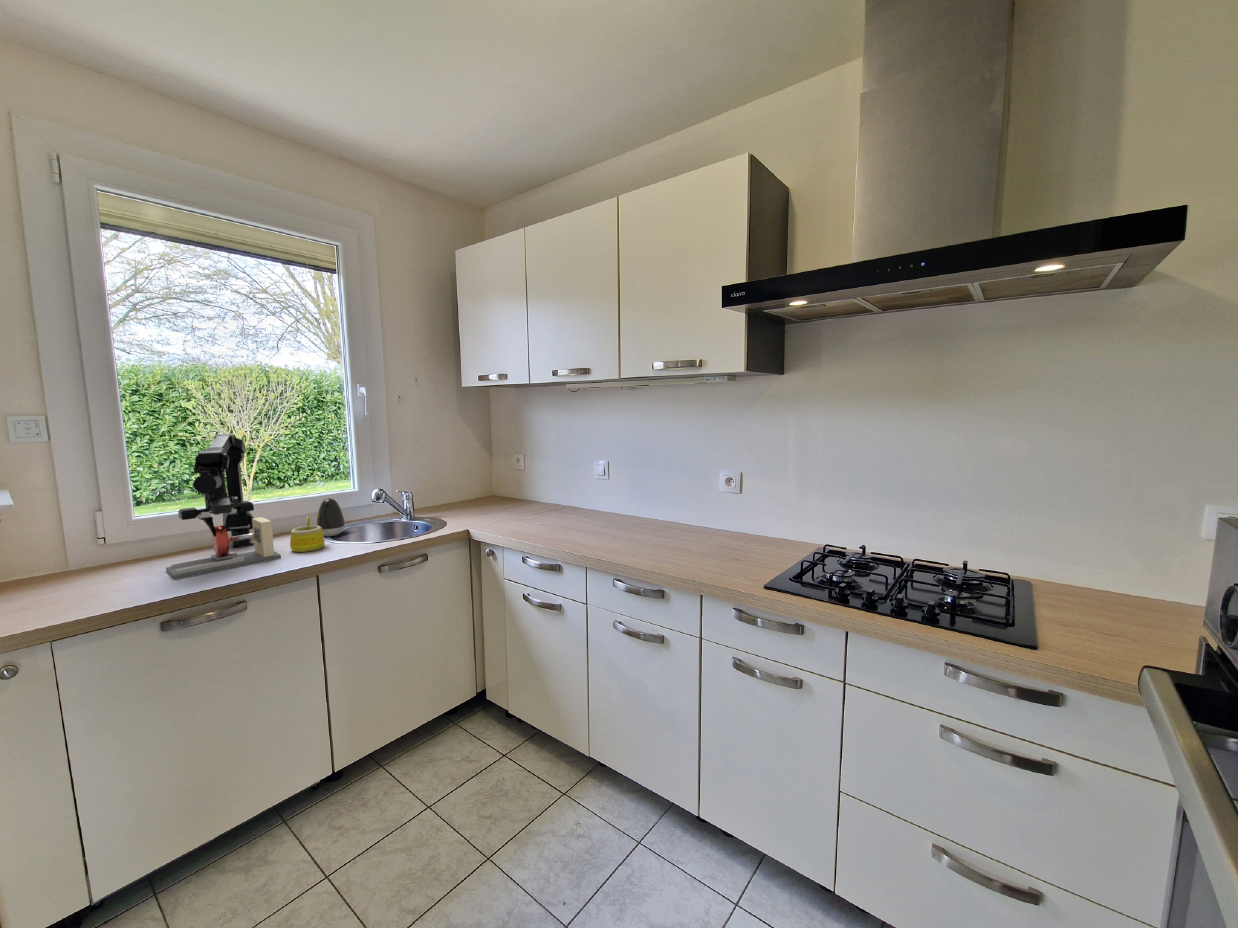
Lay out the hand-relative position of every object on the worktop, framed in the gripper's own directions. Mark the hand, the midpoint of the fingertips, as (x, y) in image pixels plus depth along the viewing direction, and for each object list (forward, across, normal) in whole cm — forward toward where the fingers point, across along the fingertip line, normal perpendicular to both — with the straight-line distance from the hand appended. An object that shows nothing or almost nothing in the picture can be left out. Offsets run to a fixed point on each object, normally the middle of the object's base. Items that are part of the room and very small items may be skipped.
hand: (219, 535), depth 165 cm
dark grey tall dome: (+10, +39, +15) cm, 43 cm away
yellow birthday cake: (+10, +26, -1) cm, 28 cm away
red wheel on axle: (+9, +6, 0) cm, 10 cm away
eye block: (+10, +2, 0) cm, 10 cm away
